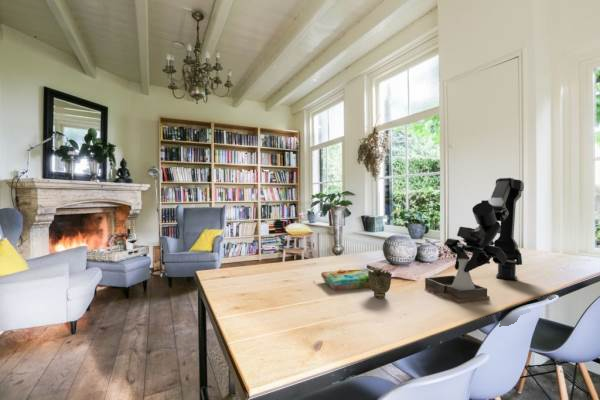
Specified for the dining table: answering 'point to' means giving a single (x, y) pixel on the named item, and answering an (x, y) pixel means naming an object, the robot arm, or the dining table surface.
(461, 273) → the flask
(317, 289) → the dining table surface
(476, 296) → the walnut dock
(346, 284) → the puzzle game
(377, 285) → the cup
